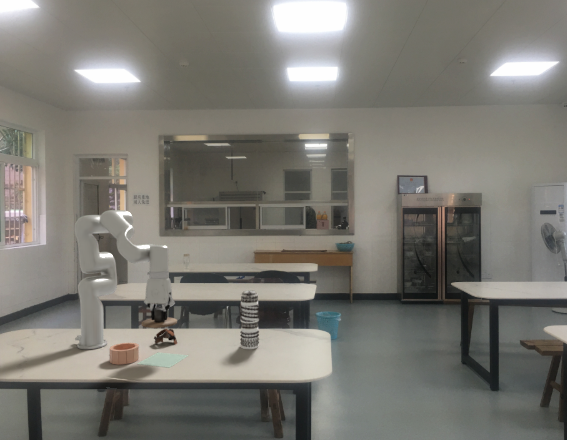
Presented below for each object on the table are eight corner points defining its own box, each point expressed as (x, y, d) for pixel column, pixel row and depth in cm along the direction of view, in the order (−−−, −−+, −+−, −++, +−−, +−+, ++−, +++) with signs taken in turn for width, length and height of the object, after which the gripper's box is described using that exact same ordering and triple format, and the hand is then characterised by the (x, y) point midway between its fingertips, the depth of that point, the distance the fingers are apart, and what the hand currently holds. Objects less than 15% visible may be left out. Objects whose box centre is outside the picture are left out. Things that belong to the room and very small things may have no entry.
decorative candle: (247, 350, 189) (247, 294, 189) (235, 346, 196) (235, 291, 196) (264, 346, 195) (263, 291, 195) (251, 342, 202) (251, 288, 202)
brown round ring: (175, 348, 194) (166, 334, 193) (158, 356, 196) (148, 342, 194) (183, 334, 206) (174, 320, 204) (166, 342, 208) (157, 328, 206)
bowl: (104, 364, 173) (103, 349, 173) (121, 355, 183) (121, 341, 183) (127, 367, 169) (127, 351, 169) (144, 358, 180) (144, 343, 180)
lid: (134, 326, 172) (134, 311, 172) (154, 318, 185) (154, 304, 185) (165, 329, 168) (165, 314, 168) (183, 320, 181) (183, 306, 181)
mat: (136, 365, 172) (136, 363, 172) (157, 353, 186) (157, 352, 186) (169, 368, 167) (169, 367, 167) (188, 356, 182) (188, 355, 182)
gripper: (136, 275, 175) (136, 320, 175) (172, 277, 170) (172, 323, 171) (146, 273, 182) (147, 316, 183) (182, 275, 177) (182, 319, 178)
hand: (159, 319), depth 177 cm, fingers closed on lid, 4 cm apart
